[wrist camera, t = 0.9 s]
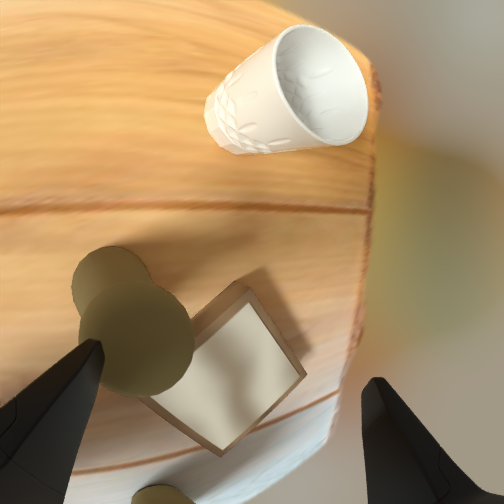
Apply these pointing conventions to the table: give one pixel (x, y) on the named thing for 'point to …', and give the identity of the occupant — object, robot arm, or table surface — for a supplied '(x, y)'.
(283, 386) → the walnut picture frame
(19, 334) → the table surface
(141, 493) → the squeeze bottle
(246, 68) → the white cup
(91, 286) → the cork
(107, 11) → the table surface
